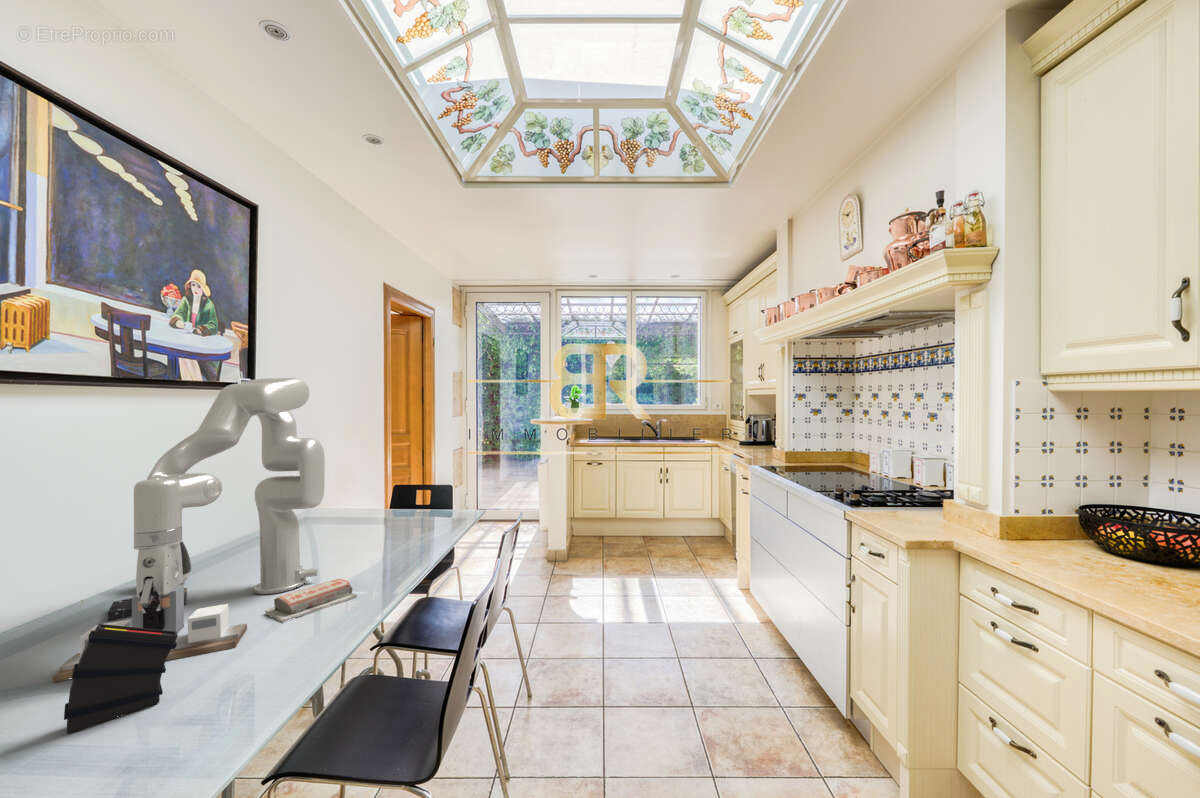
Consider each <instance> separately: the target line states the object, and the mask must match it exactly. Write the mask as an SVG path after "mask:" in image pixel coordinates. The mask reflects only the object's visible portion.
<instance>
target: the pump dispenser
mask: <svg viewBox="0 0 1200 798" xmlns="http://www.w3.org/2000/svg"><path fill="white" fill-rule="evenodd" d="M180 547H181V556H182V570H183V581H182V583H181V584H180V585H183V584H184V582H186V581H187V580H188V578H189V576H190V573H191V571H192V562H191V557H190V554H189V551H188V549H187V547H186V545H185V543H184V541H183V540H182V542H181V543H180Z"/></svg>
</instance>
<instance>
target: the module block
mask: <svg viewBox="0 0 1200 798" xmlns="http://www.w3.org/2000/svg"><path fill="white" fill-rule="evenodd" d="M184 588H185V585H184V584H180V585H179V586H178V587H176V588H175V589H174V590H173V591H172V592H170V593H169V594H168V595H163V602H162V609H164V628H163V629H162V630H166V631H175V632H177V634H179V633H180V632H181V630H182V629H184V627H185V605H184ZM155 595H159V594H158V593H157V592H155V593H152V596H155ZM131 598H132V617H131V620H132V627H136V628H143V613H142V610H143V607H142V605H141V604H140V600H141V599H140V598H138V597H137V593H136V594H135V595H133V596H131ZM154 600H155V601H156V603H157V598H156V599H152V601H154Z"/></svg>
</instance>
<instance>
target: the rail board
mask: <svg viewBox="0 0 1200 798" xmlns="http://www.w3.org/2000/svg"><path fill="white" fill-rule="evenodd" d="M247 631H248V623H239V624H235V625H229V626H228V628H227V629H226V631H225V632H224V633H223V635H222V636H221V637H219V638H214V639H209V640H203V641H198V642H192V643H188V633H184V634H178V637H177V639H176V643H177V646H176V647H175V649H171V651H170V652H169V654H168V656H167V658H166V660H168V661H170V660H169V659H173V660H177V659H176V658H178V659H183V658H182V657H184V658H188V657H192V656H199V655H202V654H208V653H209V654H210V653H215V652H218V651H225V650H229V649H234V648H237V646H238V644H239V643H240V642H241V640H242V638H243V636H244V635H245V634H246V632H247ZM79 661H80V652H78V653H76V654H74V655H73V656H72V657H70V658H69V659H68V660H65V662H64V663H63V664H61V665H60V666H59V667H58V668H59V669H58V672H56V673H55V674H54V675H53V676H52V683H53V682H55V681H60V682H62V681H61V680H65V681H67V680H66V679H69V678H72V672H73V668H74V665H75V664H78V663H79ZM55 683H56V682H55Z"/></svg>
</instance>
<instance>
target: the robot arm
mask: <svg viewBox="0 0 1200 798" xmlns="http://www.w3.org/2000/svg"><path fill="white" fill-rule="evenodd" d="M309 398H310V388H309V385H308V384H307V382H305V381H304V380H303V379H301V378H299V377H278V378H257V379H250V380H247V381H245V382H244V383H242V382H241V383H232V384H228V385H226V386H225V387H224V388H222V389H221V390H220V391H219V393H218V394H217V396H216V398H215V400H214V401H213V403H212V405H211V407H210V408H209V410H208V412H207V413H206V415H205V417H204V419H203V420H202V422H201V424H200V425H199V428H197V430H196V431H195V432H194V433H192V434H190V435H189V436H187V437H186V438H184V439H182V440H181V441H179V442H178V443H177V444H175V445H173V447H171V448H169V449H168V450H167V451H166V452H165V453H164V454H163V455H162V456H161V457H160V458H159V459H158V460H157V462H155V464H154V466H153V468H152V469H151V471H150V472H149V475H148V476H147V478H146V479H143V480H140V481H137V483H136V484H135V485H134V486H133V549H134V550H136V551H137V550H138V553H137V561H136V576H135V577H136V578H135V579H136V580H135V581H136V582H135V588H136V589H135V590H136V592H135V593H136V594H137V597H138V598H140V599H141V600H140V604H141V605H142V607H143V610H142V613H143V628H146V629H156V630H162V629H163V628H164V609H162V602H163V595H168V594H169V593H170V592H172V591H173V590H174V589H175V588H176V587H178V586H179V585H182V584H183V583H182V581H183V570H182V556H181V547H180V543H181V542H182V541H183V509H187V508H198V507H205V506H208V505H210V504H212V503H214V502H215V501H217V500H218V499H219V497H220V496H221V493H222V490H223V484H222V482H221V480H220V479H219V478H218V477H217V476H215V475H213V474H210V473H203V472H198V473H197V472H195V473H194V472H193V473H189V472H188V471H189V470H190V469H191V468H192V467H193V466H195V465H196V464H198V463H200V462H202V461H204V460H205V459H207V458H210V457H213V456H215V455H218V454H221V453H224V452H225V451H227V450H230V449H232V448H234V447H235V446H237V444H238V443H239V442H240V439H241V437H242V435H243V433H244V431H245V429H246V427H247V426H248V423H249V421H250V420H251V418H252V417H254V416H257V417H258V419H259V421H260V425H261V463H262V466H263V468H264V469H265V470H267V471H268V472H279V473H280V472H299V473H298V474H299V475H279V476H277V475H276V476H270V477H267V478H264V479H262V480H260V482H258V484H257V486H256V487H255V489H254V502H255V505H256V508H257V513H258V521H259V523H258V524H259V567H260V569H259V570H260V577H259V578H260V582H259V583H258V584H256V585H255V586H253V593H255V594H257V595H272V594H279V593H285V592H288V591H287V590H289V591H292V590H295V589H297V588H296V587H298V588H299V586H300V587H302V586H303V585H305V584H306V583H305V582H307V578H308V577H310V578H312V577H317V576H318V568H309V569H308V568H307V569H305V568H303V565H302V564H301V563H300V561H301V560H300V557H301V556H300V554H301V553H300V522H299V519H298V517H297V515H296V513H295V512H294V510H304V509H305V510H307V509H315V508H317V507H318V506H320V505H321V503H322V502H323V499H324V495H325V485H326V484H325V483H326V482H325V480H326V479H325V477H326V476H325V474H326V473H325V471H326V470H325V467H326V465H325V461H326V460H325V451H324V448H323V445H322V443H321V442H320V441H319V440H317V439H316V438H311V437H299V438H298V436H297V435H298V433H297V421H296V418H295V417H294V416H295V415H294V414H293V413H292V412H291V411H292V410H296V409H300V408H301V407H303V406H304V405H306V403H307V402H308V400H309ZM187 472H188V473H187ZM300 564H301V565H300ZM181 583H182V584H181ZM304 583H305V584H304ZM301 585H302V586H301ZM294 588H295V589H294ZM291 589H292V590H291ZM284 591H285V592H284ZM155 592H157V593H158V594H159V595H155V596H152V593H155ZM156 598H157V603H156V601H155V600H154V601H152V599H156Z"/></svg>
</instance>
